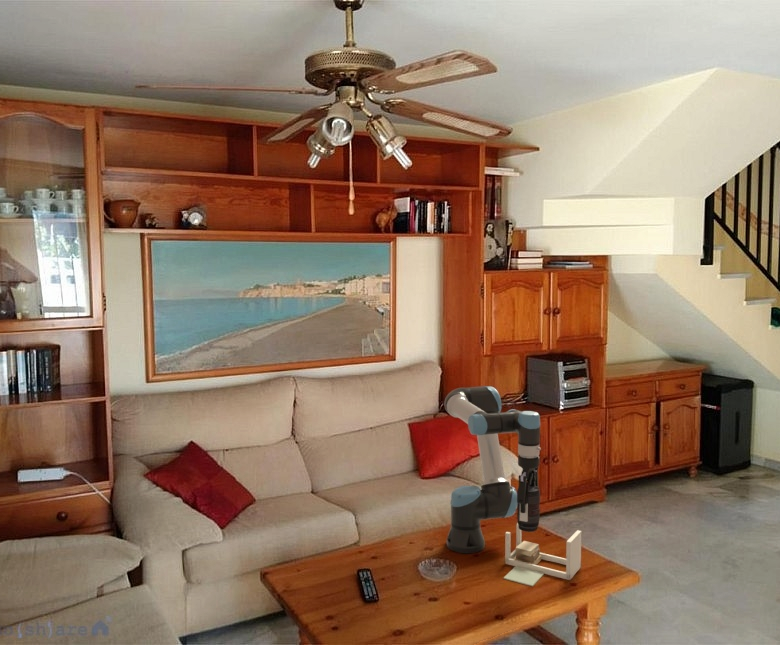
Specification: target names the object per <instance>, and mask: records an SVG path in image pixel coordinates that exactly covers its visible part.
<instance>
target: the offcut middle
mask: <svg viewBox="0 0 780 645" xmlns="http://www.w3.org/2000/svg"><path fill="white" fill-rule="evenodd" d="M540 550H541V549H540V548H539V550H537V551H536V552H535V553H534V554H533V555H532V556H527V555H523V554H519V553H516V559H520V560H525V561H530V562H535V561H536V559H537V558H538V557H539V555H540V553H541V552H540Z"/></svg>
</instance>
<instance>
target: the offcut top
mask: <svg viewBox="0 0 780 645" xmlns="http://www.w3.org/2000/svg"><path fill="white" fill-rule="evenodd" d="M539 546H540V544H538V543H535V542H530V541H527V540H523V541H522V543H521V544H519V545H518V546H517V547H515V549H516V553H519V554H523V555H527V556H532V555H533V554H534V553H535V552H536V551H537V550H539V549H540V547H539Z"/></svg>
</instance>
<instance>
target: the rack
mask: <svg viewBox="0 0 780 645" xmlns="http://www.w3.org/2000/svg"><path fill="white" fill-rule="evenodd" d="M515 528H516V532H515V534H516V538H515V539H516V540H515V542H516V544H515V546H516V547H517V546H518V545H519V544H521V543H522V542H523V541H522V532H523V531H522V530H520V529H519V526H518V523H516V527H515ZM511 536H512V532H510V531H506V532H505V536H504V537H505V539H504V540H505V541H504V542H505V545H504V546H505V547H504V548H505V549H504V551H505V552H504V554H505V555H504V559H505V561H504V562H505V563H504V564H506V565H509V566H513V567H515V566H518V567H522V568H526V569H530V570H534V571H537V572H541V573H544V575H548V576H552V577H555V578H559V579H560V578H561V579H563V580H568V581H571V580H572V579H573V577H574V576H575V575H576V573H577V572H579V570H580V569H581V568H582V567H581V566H582V530H579V529H577V530H576V531H575V532H574V533H573V534H572V535H571V536H570V537H569V538H568V539H567V540H566V547H565V548H566V550H565V554H566V556H565V558H564V557H560V556H557V555H553V554H547V553H545V552H540V555H541V560H544V561H547V562H548V561H549V562H553V563H557V564H561V565H564V566H565V571H561V570H557V569H554V568H550V567H546V566H541V565H538V564H537V565H534V564H530V563H526V562H522V561H518V560H514V559H513V558H514V557H515V556H516V547H515V549H514V550H513V551H512V552H511V550H512V549H511V548H512V546H511V545H512V541H511V540H512V538H511Z"/></svg>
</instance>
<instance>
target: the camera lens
mask: <svg viewBox="0 0 780 645" xmlns="http://www.w3.org/2000/svg"><path fill="white" fill-rule="evenodd" d="M538 487H539V486H538ZM538 487H537V486H529V491H528V498H527V503H528V521H527V522H525V521H520V503H517V509H516V519H517V523H518V526H519V529H520V530H522V532H528V533H531V532H532V533H533V532H536V531H537V530H538V526H539V525H540V502H541V491H540V487H539V488H538ZM516 492H517V500H518V489H517V490H516ZM517 523H516V524H517Z"/></svg>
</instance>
